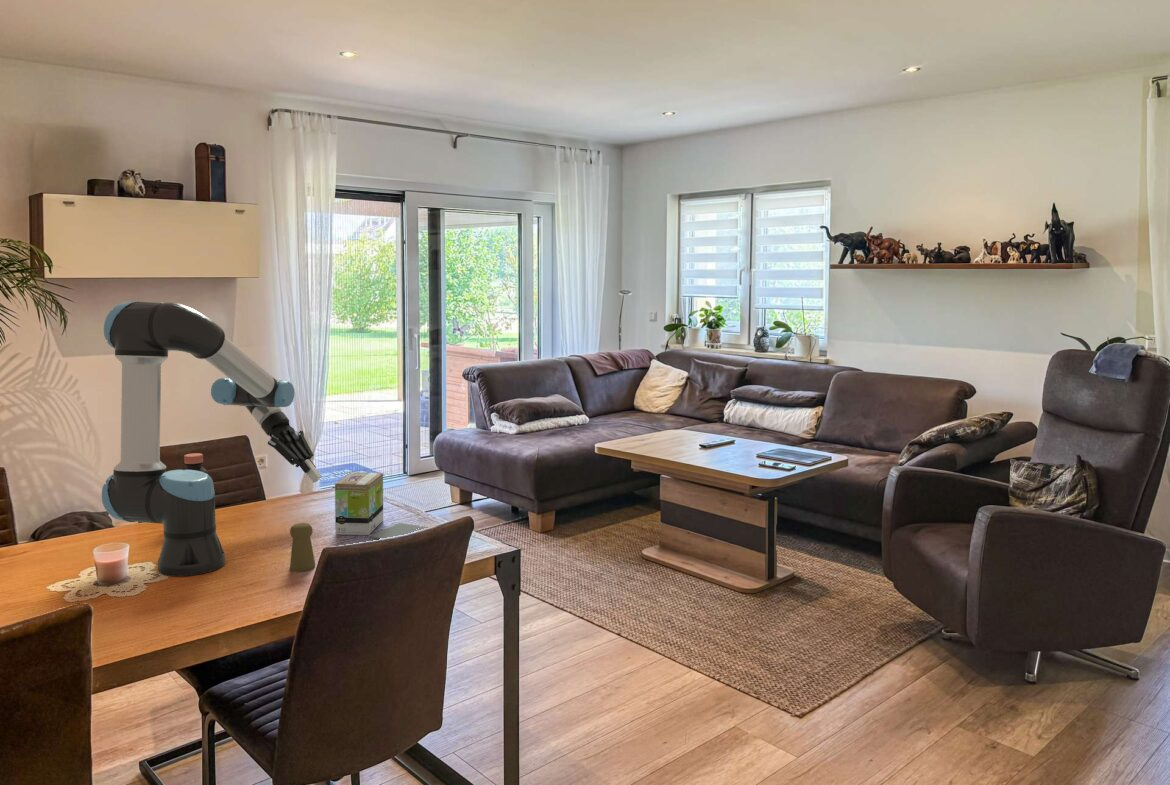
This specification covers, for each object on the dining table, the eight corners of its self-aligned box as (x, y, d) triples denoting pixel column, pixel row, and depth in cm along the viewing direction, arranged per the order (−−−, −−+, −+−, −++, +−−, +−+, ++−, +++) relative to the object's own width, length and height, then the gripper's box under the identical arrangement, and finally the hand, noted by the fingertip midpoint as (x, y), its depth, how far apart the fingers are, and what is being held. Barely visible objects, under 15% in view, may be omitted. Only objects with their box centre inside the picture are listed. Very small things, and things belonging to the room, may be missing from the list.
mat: (398, 543, 229) (398, 540, 229) (368, 538, 233) (368, 536, 233) (428, 529, 242) (428, 527, 242) (399, 524, 246) (399, 522, 246)
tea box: (370, 536, 235) (369, 483, 233) (334, 535, 236) (332, 483, 234) (384, 520, 250) (383, 471, 248) (350, 520, 250) (349, 471, 248)
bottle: (214, 519, 250) (210, 452, 247) (201, 526, 243) (198, 457, 241) (192, 518, 251) (188, 452, 248) (179, 525, 244) (175, 456, 241)
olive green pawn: (288, 572, 206) (287, 528, 204) (290, 564, 211) (288, 521, 210) (315, 570, 207) (313, 526, 206) (316, 562, 213) (314, 519, 212)
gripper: (280, 423, 259) (326, 482, 255) (248, 430, 247) (294, 492, 243) (293, 407, 256) (339, 466, 252) (261, 413, 245) (308, 475, 240)
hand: (317, 479), depth 247 cm, fingers closed
